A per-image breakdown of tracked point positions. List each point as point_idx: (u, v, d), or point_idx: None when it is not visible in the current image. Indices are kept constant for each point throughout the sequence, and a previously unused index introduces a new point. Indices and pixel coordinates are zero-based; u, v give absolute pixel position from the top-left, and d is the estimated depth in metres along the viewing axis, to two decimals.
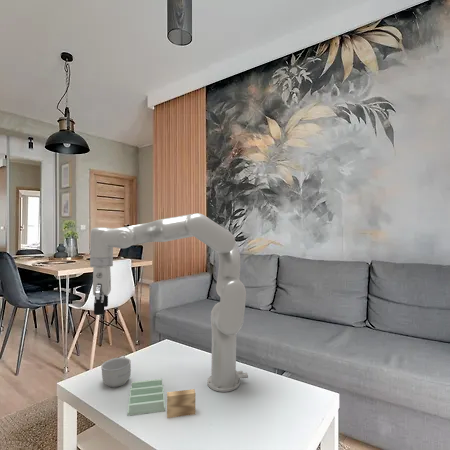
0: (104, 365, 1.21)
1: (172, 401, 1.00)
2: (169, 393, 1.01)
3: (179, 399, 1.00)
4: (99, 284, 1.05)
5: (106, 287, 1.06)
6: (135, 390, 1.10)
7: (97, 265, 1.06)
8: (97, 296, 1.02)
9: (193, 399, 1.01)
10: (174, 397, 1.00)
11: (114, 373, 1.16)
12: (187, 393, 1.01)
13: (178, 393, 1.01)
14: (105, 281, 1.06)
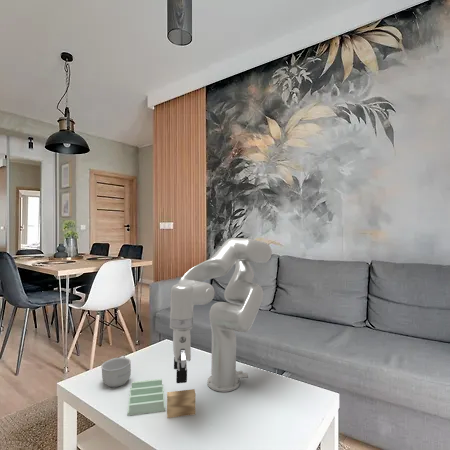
0: (104, 365, 1.21)
1: (172, 401, 1.00)
2: (169, 393, 1.01)
3: (179, 399, 1.00)
4: (182, 349, 0.96)
5: (189, 352, 0.97)
6: (135, 390, 1.10)
7: (180, 328, 0.98)
8: (183, 364, 0.93)
9: (193, 399, 1.01)
10: (174, 397, 1.00)
11: (114, 373, 1.16)
12: (187, 393, 1.01)
13: (178, 393, 1.01)
14: (188, 346, 0.97)
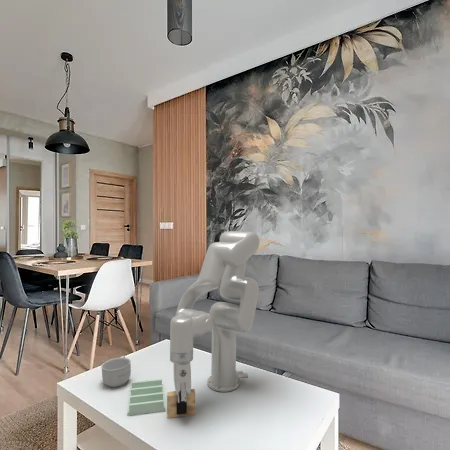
0: (104, 365, 1.21)
1: (172, 401, 1.00)
2: (169, 393, 1.01)
3: None
4: (183, 385, 0.97)
5: (190, 385, 0.97)
6: (135, 390, 1.10)
7: (180, 361, 0.98)
8: None
9: (193, 399, 1.01)
10: (174, 397, 1.00)
11: (114, 373, 1.16)
12: (187, 393, 1.01)
13: None
14: (189, 379, 0.97)
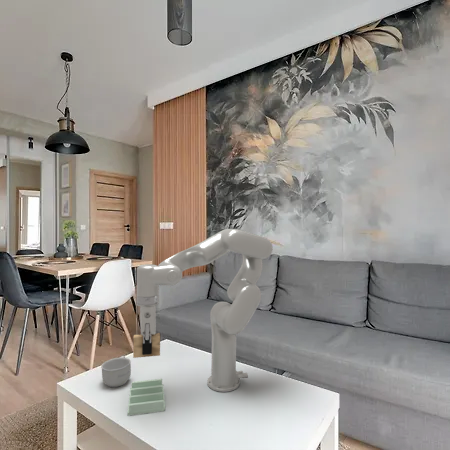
0: (104, 365, 1.21)
1: (138, 342, 1.07)
2: (135, 335, 1.09)
3: None
4: (147, 326, 1.05)
5: (154, 327, 1.05)
6: (135, 390, 1.10)
7: (145, 304, 1.05)
8: (146, 340, 1.04)
9: (158, 341, 1.09)
10: (140, 338, 1.07)
11: (114, 373, 1.16)
12: (152, 335, 1.09)
13: None
14: (153, 321, 1.05)
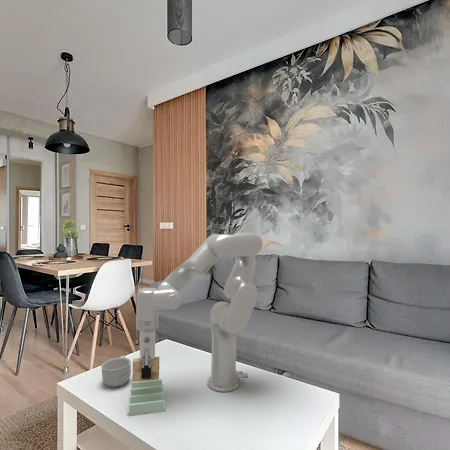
0: (104, 365, 1.21)
1: (137, 367, 1.07)
2: (134, 359, 1.09)
3: None
4: (146, 351, 1.05)
5: (153, 351, 1.05)
6: (135, 390, 1.10)
7: (144, 329, 1.05)
8: (146, 365, 1.04)
9: (157, 365, 1.09)
10: (139, 362, 1.07)
11: (114, 373, 1.16)
12: (151, 359, 1.09)
13: None
14: (152, 345, 1.05)
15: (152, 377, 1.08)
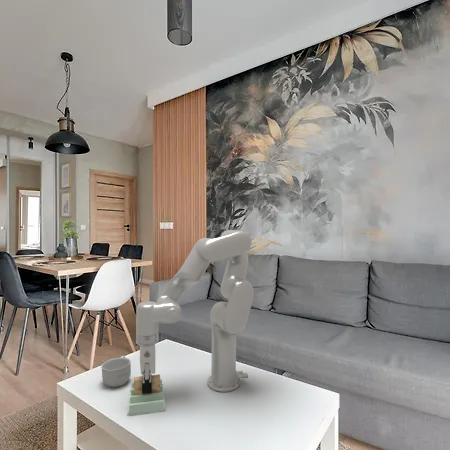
0: (104, 365, 1.21)
1: (138, 385, 1.07)
2: (135, 377, 1.09)
3: None
4: (147, 365, 1.05)
5: (154, 366, 1.05)
6: None
7: (144, 343, 1.05)
8: (146, 380, 1.03)
9: (158, 383, 1.09)
10: (140, 381, 1.07)
11: (114, 373, 1.16)
12: (152, 378, 1.09)
13: (144, 377, 1.09)
14: (153, 360, 1.05)
15: None
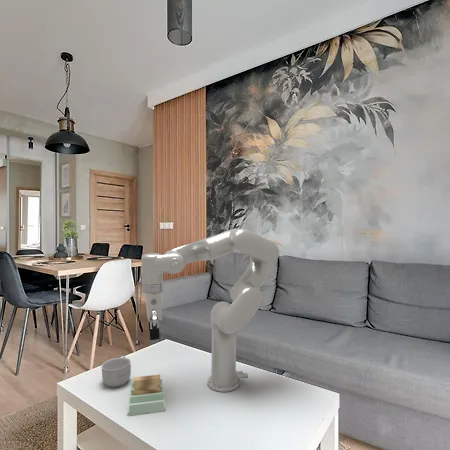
0: (104, 365, 1.21)
1: (138, 385, 1.07)
2: (135, 378, 1.09)
3: (144, 383, 1.08)
4: (154, 310, 1.08)
5: (160, 313, 1.09)
6: None
7: (151, 291, 1.09)
8: (154, 323, 1.05)
9: (158, 383, 1.09)
10: (140, 381, 1.07)
11: (114, 373, 1.16)
12: (152, 378, 1.09)
13: (144, 378, 1.09)
14: (159, 307, 1.08)
15: None
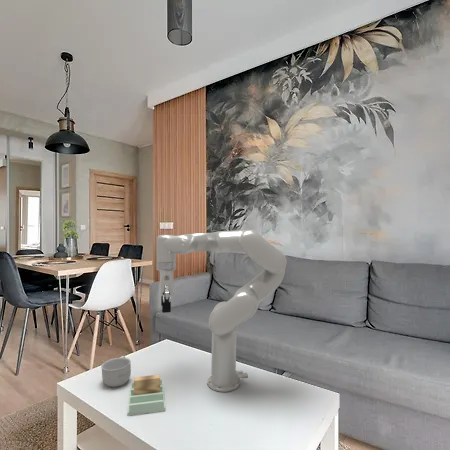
0: (104, 365, 1.21)
1: (138, 385, 1.07)
2: (135, 378, 1.09)
3: (144, 383, 1.08)
4: (166, 285, 1.18)
5: (172, 288, 1.19)
6: None
7: (164, 268, 1.20)
8: (166, 296, 1.16)
9: (158, 383, 1.09)
10: (140, 381, 1.07)
11: (114, 373, 1.16)
12: (152, 378, 1.09)
13: (144, 378, 1.09)
14: (171, 283, 1.19)
15: None
